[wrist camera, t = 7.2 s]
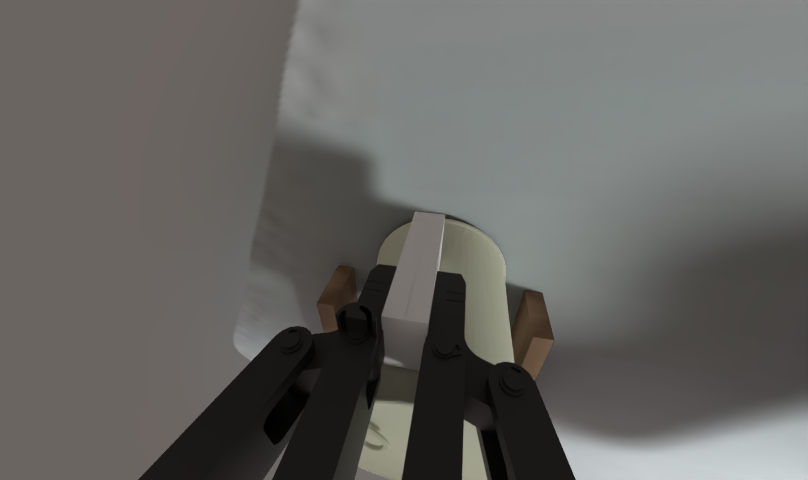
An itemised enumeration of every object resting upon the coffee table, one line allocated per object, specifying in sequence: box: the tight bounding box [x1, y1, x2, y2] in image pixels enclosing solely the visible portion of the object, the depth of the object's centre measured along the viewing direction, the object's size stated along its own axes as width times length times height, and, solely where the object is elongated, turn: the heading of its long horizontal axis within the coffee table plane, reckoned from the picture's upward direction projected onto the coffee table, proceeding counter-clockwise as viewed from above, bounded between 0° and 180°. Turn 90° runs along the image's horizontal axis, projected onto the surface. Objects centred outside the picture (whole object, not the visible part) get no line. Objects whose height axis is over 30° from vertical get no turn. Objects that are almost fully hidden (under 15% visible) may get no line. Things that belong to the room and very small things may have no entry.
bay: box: [317, 266, 554, 381], centre depth 25 cm, size 15×17×4 cm
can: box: [358, 219, 514, 480], centre depth 17 cm, size 9×9×12 cm
